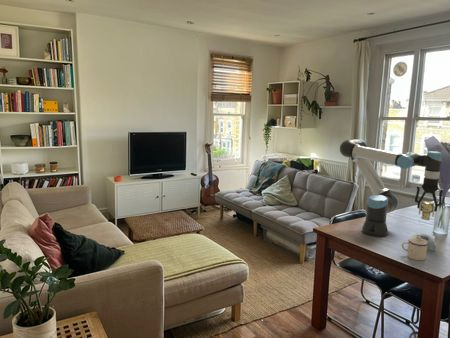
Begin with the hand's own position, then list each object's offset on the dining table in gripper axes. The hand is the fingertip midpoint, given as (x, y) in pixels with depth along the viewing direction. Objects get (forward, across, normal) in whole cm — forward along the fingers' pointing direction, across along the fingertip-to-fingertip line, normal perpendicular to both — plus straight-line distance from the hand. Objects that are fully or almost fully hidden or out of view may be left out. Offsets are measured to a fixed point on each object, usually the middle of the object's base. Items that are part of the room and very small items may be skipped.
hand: (426, 214), depth 202 cm
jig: (+15, +1, -12) cm, 19 cm away
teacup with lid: (+15, -1, -33) cm, 36 cm away
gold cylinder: (+3, 0, 0) cm, 3 cm away
